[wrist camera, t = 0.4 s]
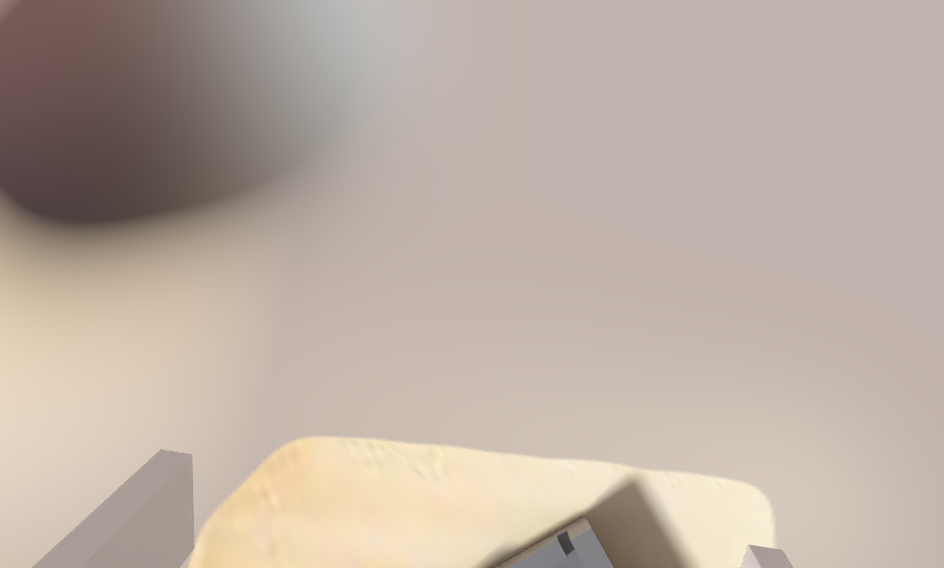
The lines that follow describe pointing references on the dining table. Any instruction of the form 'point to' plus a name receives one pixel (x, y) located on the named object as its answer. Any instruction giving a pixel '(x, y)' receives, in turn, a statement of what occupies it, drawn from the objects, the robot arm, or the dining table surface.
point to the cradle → (564, 550)
